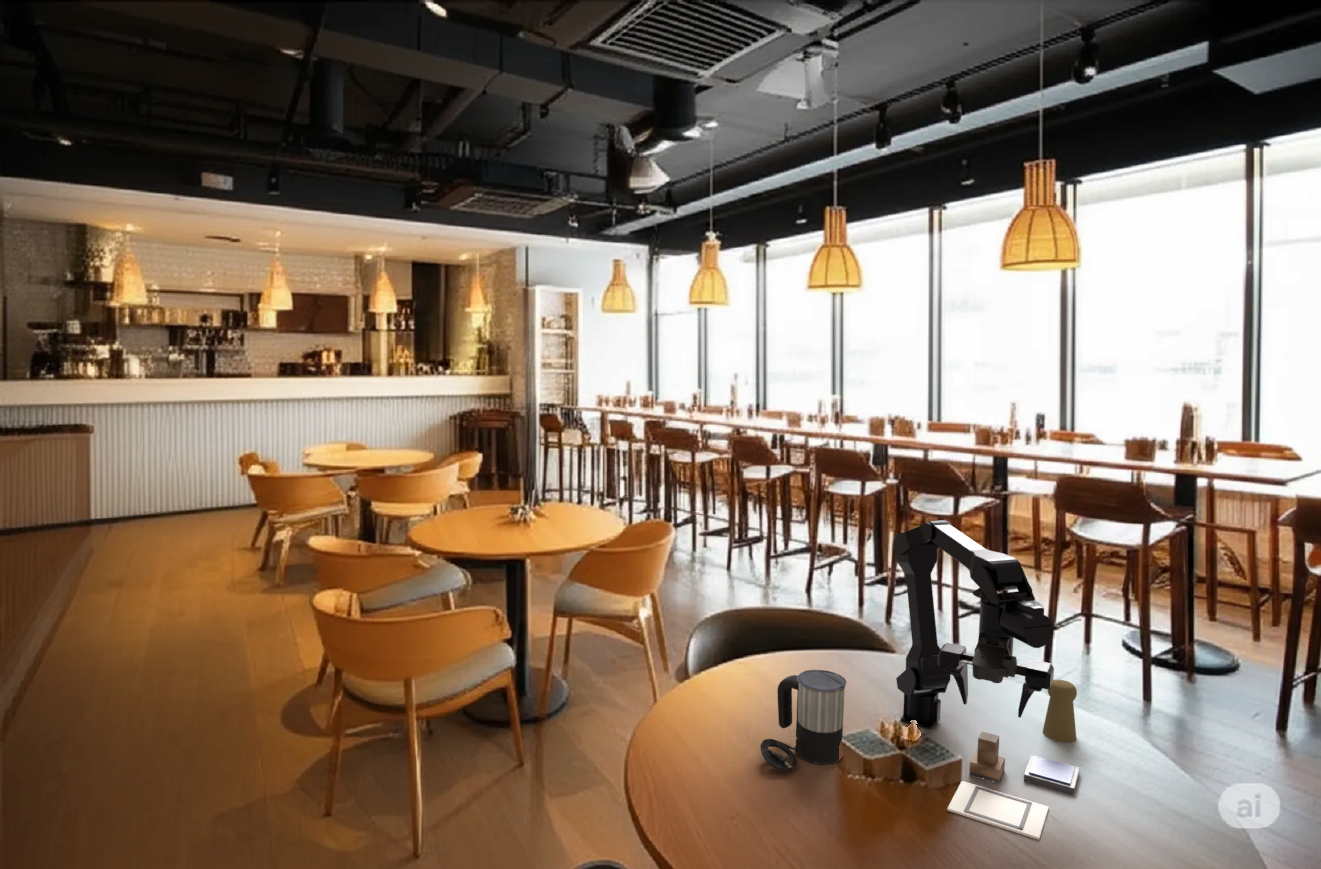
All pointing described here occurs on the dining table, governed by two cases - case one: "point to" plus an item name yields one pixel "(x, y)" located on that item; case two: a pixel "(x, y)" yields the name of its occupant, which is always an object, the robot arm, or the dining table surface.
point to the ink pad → (1052, 774)
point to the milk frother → (809, 719)
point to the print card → (999, 809)
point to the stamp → (987, 759)
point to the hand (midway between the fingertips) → (992, 709)
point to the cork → (1061, 712)
